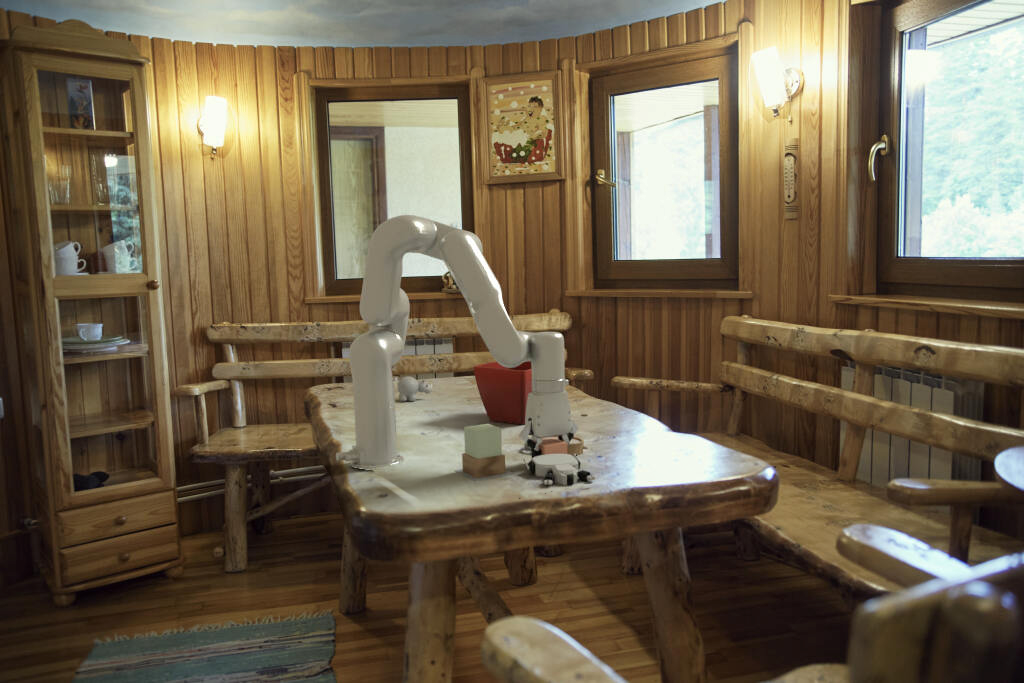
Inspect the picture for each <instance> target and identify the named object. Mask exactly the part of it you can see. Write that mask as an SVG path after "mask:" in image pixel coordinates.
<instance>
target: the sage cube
mask: <svg viewBox="0 0 1024 683" xmlns="http://www.w3.org/2000/svg"><path fill="white" fill-rule="evenodd" d="M463 431H464V453H465V454H467V455H469V456H472V457H474V458H476V459H481V458H487V457H493V456H500V455H502V454H503V453H502V452H503V450H502V449H503V448H502V447H503V446H502V428H501V427H499V426H495V425H493V424H490V423H485V424H482V423H481V424H477V425H467V426H464V427H463Z"/></svg>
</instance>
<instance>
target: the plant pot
mask: <svg viewBox="0 0 1024 683" xmlns="http://www.w3.org/2000/svg"><path fill="white" fill-rule="evenodd" d="M472 368H473V374H474V378H475V379H474V380H475V382H476V386H477V389H478V393H479V395H480V400H481V402H482V405H483V408H484V409H485V412H486V415H487V417H488V419H489V421H491V422H497V421H498V422H500V423H505V422H507V424H512V423H514V424H513V425H519V424H521V426H522V425H523V424H524V425H525V417H526V405H527V399H528V394H529V393H532V370H531V361H527V362H523V363H522V364H520V365H519V366H517V367H513V368H507V367H504V366H502V365H500V364H499V363H498V362H497V361H496V360H495V361H493V362H492V361H491V362H486V363H482V364H476V365H473V367H472ZM524 425H523V426H524Z"/></svg>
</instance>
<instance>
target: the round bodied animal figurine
mask: <svg viewBox="0 0 1024 683" xmlns="http://www.w3.org/2000/svg"><path fill="white" fill-rule="evenodd" d="M396 385H397V391H398V400H399V402H407V401H409V402H415V401H416V400H417V397H416V394H417V393H418V392H419V393H425V394H431V392H432V388H433V384H432V383H430V384H428V383H427V381H426V380H425V378H422V379H421V380H419V381H417V379H416V378H414V377H413V376H404V377H402V378H401V379H400V380H399V382H397V384H396Z"/></svg>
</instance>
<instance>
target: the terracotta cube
mask: <svg viewBox="0 0 1024 683" xmlns="http://www.w3.org/2000/svg"><path fill="white" fill-rule="evenodd" d="M540 450H542V455H546V454H567V443H566V442H564V441H561V440H558V439H555V438H549V439H543V440H542V443H541V446H540ZM531 454H532V452H531Z"/></svg>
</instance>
